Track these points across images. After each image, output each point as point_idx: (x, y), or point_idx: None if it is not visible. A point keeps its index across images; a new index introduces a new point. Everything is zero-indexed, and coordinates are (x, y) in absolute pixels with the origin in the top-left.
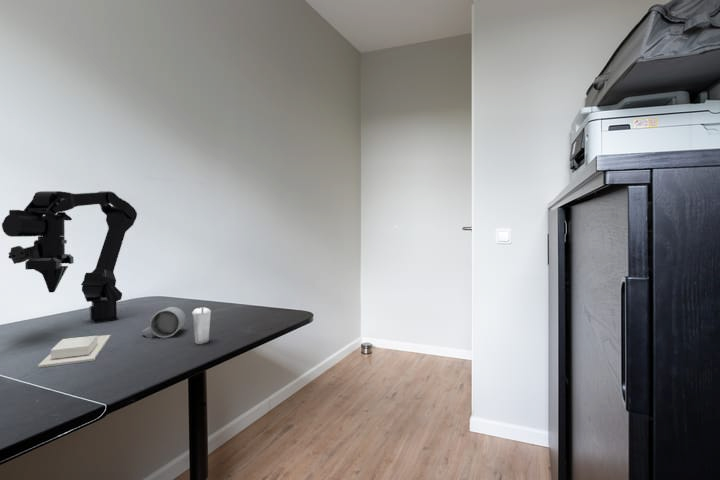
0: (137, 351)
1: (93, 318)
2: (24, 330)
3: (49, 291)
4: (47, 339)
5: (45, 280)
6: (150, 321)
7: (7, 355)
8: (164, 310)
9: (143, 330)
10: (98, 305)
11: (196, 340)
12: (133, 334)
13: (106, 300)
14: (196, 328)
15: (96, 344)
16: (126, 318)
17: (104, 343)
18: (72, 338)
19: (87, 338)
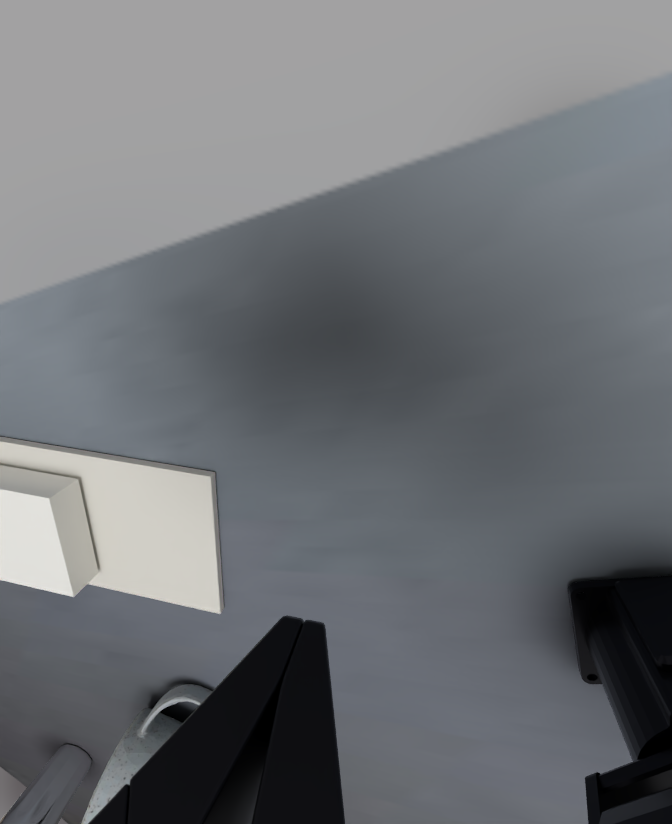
0: (29, 639)
1: (619, 596)
2: (667, 202)
3: (276, 626)
4: (289, 397)
5: (105, 809)
6: (111, 758)
7: (65, 285)
8: None
9: (193, 702)
10: (644, 707)
11: (56, 754)
12: (226, 665)
13: (619, 784)
14: (20, 798)
15: (98, 567)
16: (586, 701)
17: (103, 587)
18: (49, 527)
19: (40, 569)
